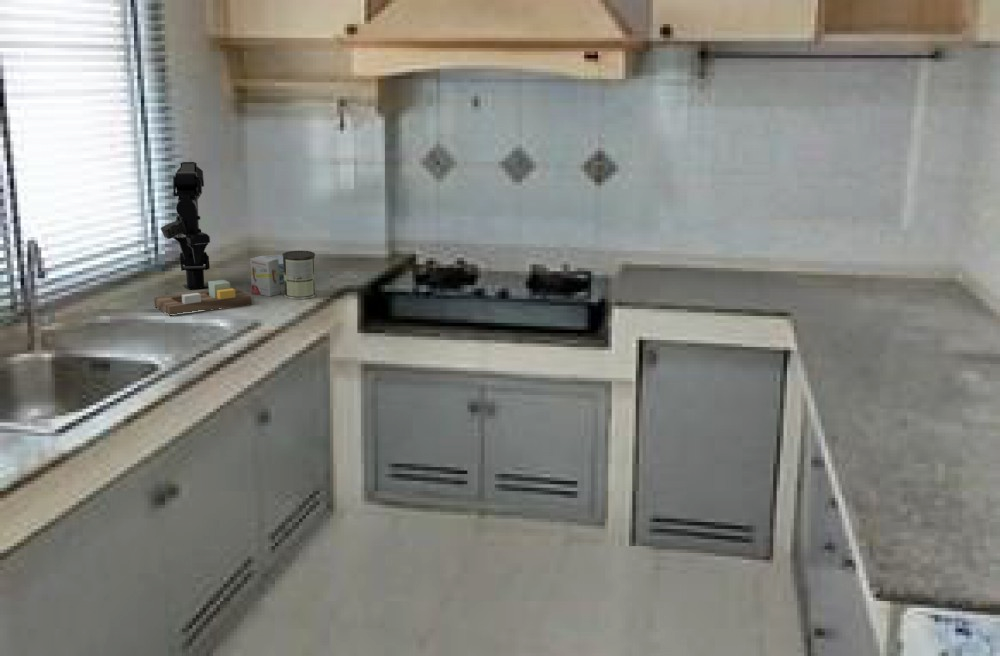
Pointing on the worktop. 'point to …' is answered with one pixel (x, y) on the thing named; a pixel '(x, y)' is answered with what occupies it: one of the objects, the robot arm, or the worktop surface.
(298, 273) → the coffee can
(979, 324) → the worktop surface
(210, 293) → the pale mint cube
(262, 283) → the ink box
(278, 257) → the chinaware
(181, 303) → the socket block
